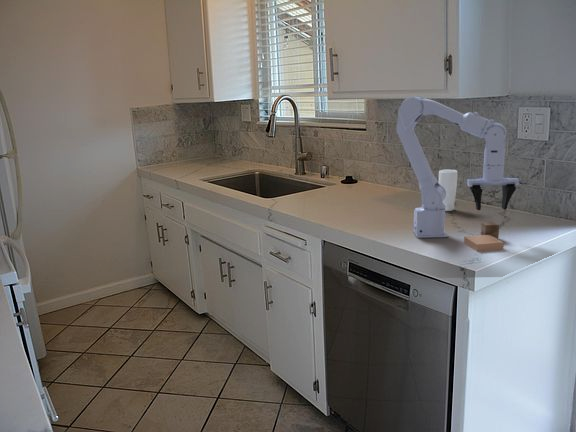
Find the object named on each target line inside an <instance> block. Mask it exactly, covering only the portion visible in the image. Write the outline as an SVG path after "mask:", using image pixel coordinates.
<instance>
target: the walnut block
mask: <svg viewBox="0 0 576 432" xmlns="http://www.w3.org/2000/svg"><path fill="white" fill-rule="evenodd" d="M480 227H481V229H480V235H491V236H493V237H495V238H497V239H498V240H499V234H500V224H499V223H498V222H497V221H481V226H480Z"/></svg>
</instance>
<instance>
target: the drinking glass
mask: <svg viewBox="0 0 576 432" xmlns="http://www.w3.org/2000/svg"><path fill="white" fill-rule="evenodd" d="M437 180H438V182H439V184H440V185H441V186H442V187H443V188H444V189H445V191H446V196H445V198H444V200H443V201H442V202H443V204H444V205H445V212H452V211H454V210H455V204H456V195H457V186H458V170H456V169H448V168H447V169H440V170H438V179H437Z"/></svg>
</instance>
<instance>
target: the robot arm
mask: <svg viewBox="0 0 576 432" xmlns="http://www.w3.org/2000/svg"><path fill="white" fill-rule="evenodd" d="M397 113H398V115H397V121H396V134H397V136H398V137H399V140H400V142H401V145H402V147H403V150H404V151H405V154H406V156H407V159H408V160H409V163H410V165H411V168H412V170H413V173H414V174H415V177H416V179H417V181H418V189H419V191H420V194H421V195H420V200H421V201H420V202H421V204H422V205H421V207H416V208H414V211H413V230H412V231H413V233H414V234H415V236H416V238H417V239H422V238H447V237H449V235H448V234H447V233H446V231H445V223H446V221H445V220H446V211H445V205H444V204H443V202H442V201H443V200H444V198H445V196H446V191H445V189H444V188H443V187H442V186H441V185H440V184H439V182H438V179H437V177H436V176H435V175H434V173H433V170H432V168H431V167H430V163H429V161H428V159H427V157H426V155H425V153H424V150H423V147H422V145H421V143H420V141H419V138H418V135H416V132H415V127H416V125H417V124H418V120H419V119H420V118H421V117H422V116H431V115H434V116H438V117H440V118H442V119H445V120H447V121H450V122H452V123H454V124H455V123H456V124H458V125H459V128H460V130H461V131H463V132H465V133H467V134H469V135H472V136H475V137H476V138H479V139H484V140H485V148H484V150H483V151H484V153H483V167H482V168H483V169H482V177H480V178H470V179H467V180H466V185H467V187H469V189H470V190H471V193H472V196H473V199H474V203H475V207H476V208H475V209H476V210H477V211H481V208H482V194H483V191H484V190H483V188H482V187H491V186H493V187H494V186H495V187H496V186H501V191H502V199H501V200H502V201H501V209H502V210H503V211H504V210H507V209H508V205H509V202H510V201H511V198H512V196H513V195H514V193H515V191H516V190H517V187H516V186H519V183H520V178H517V177H504V172H505V162H506V161H505V160H506V149H505V147H506V141H505V140H506V139H507V133H508V132H507V128H506V127H505V125H503V124H501V122H495V120H494V119H492V118H491V119H488V118H485V117H483V116H481V115H479V114H480V113H479V112H477V111H474V112H471V111H469V112H466V113H462V112H459V111H458V110H455V109H453V108H451V107H449V106H446V105H445V104H442V103H440V102H438V101H435V100H433V99H430V98H424V97H422V96H419V95H417V96H416V95H415V96H414V95H413V96H409V97H407V98H405V99H404V100H403V101H402V102H401V104H400V106H399V108H398V110H397Z"/></svg>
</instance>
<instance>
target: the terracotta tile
mask: <svg viewBox="0 0 576 432" xmlns="http://www.w3.org/2000/svg"><path fill="white" fill-rule="evenodd" d="M463 243H464V245H466V246H467V247H469V248H470V249H472V250H474V251H475V250H476V251H475V252H483V251H484V252H485V251H495V250H496V251H497V250H498V251H499V250H504V242H503V241H502V240H501V239H499V238H498V239H497V238H495V237H493V236H491V235H481V234H479V235H467V236H464V237H463Z"/></svg>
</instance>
